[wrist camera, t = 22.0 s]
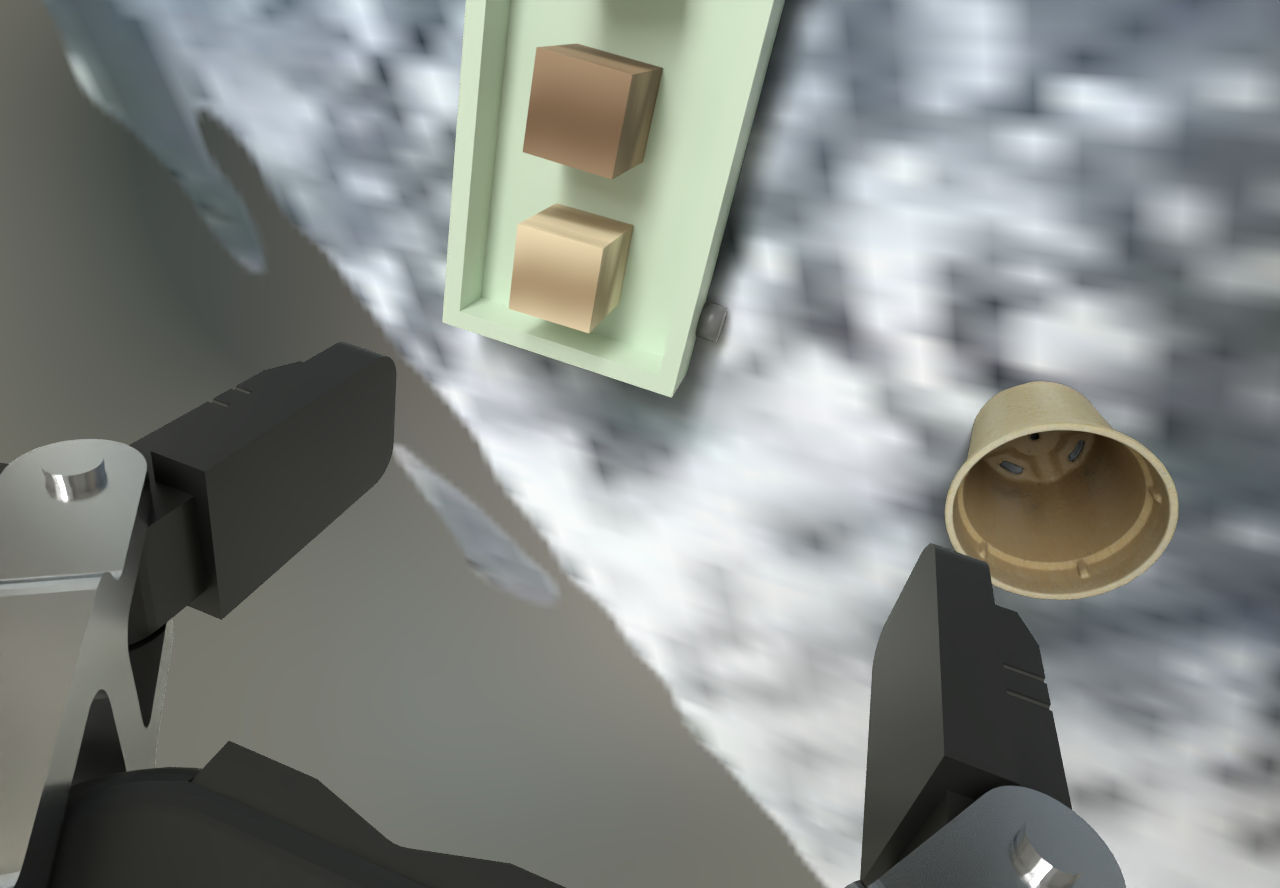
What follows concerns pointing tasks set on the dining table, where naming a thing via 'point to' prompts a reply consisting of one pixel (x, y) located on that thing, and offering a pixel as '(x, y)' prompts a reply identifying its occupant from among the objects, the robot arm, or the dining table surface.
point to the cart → (643, 196)
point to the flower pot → (1058, 497)
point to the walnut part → (590, 109)
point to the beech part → (569, 266)
